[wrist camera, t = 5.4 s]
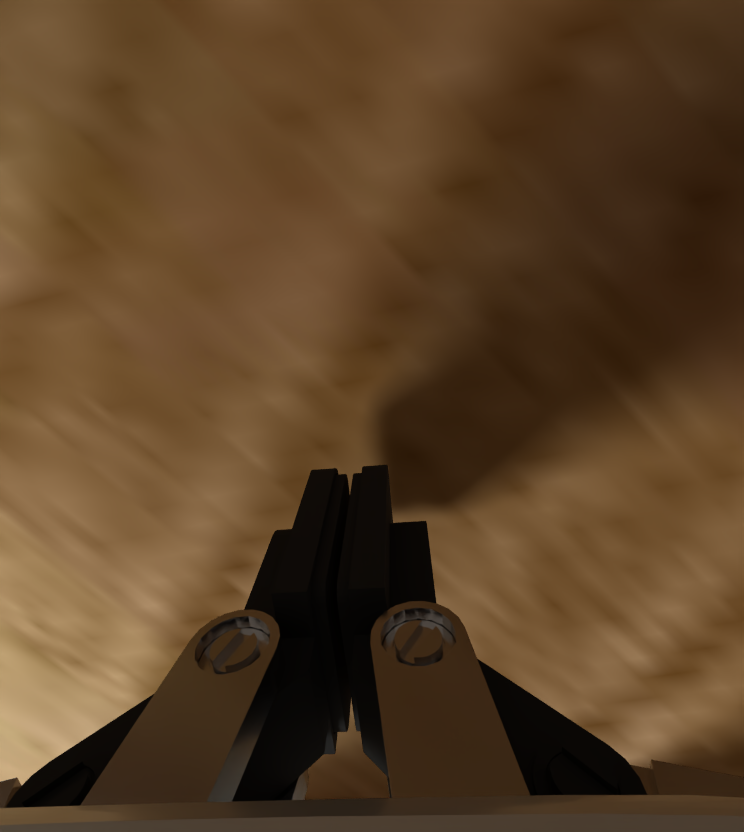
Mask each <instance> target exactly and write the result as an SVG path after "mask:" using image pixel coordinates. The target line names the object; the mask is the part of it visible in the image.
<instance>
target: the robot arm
mask: <svg viewBox="0 0 744 832" xmlns="http://www.w3.org/2000/svg"><path fill="white" fill-rule="evenodd" d="M351 699H352V706H353V712H354V719H355V726H356V730H357V731H361V737H362V744H363V751H364V753H365V754H366V755H367V756H368V757H369V758H370V759H371V760H372V761H373V762H374V763H375V764H376V765H377V766H378V767H379V768H380V769H381V770H382V771H383V772H384V773H385V774H386V776H387V781H388V789H389V797H390V798H366V799H323V800H304V799H305V796H306V792H307V787H308V780H309V774H308V768H309V767H310V766H311V765H312V764H313V763H315V762H316V761H317V760H318V759H319V758H320V757H321V756H322V755H323V754H335V751H336V742H337V732H347V731H348V726H349V716H350V704H351ZM0 832H744V777H739V776H734V775H728V774H723V773H718V772H713V771H707V770H702V769H697V768H692V767H686V766H681V765H676V764H671V763H666V762H660V761H655V760H651V765H650V769H649V768H644V767H639V766H633V765H630V764H629V763H628V762H627V760H626V759H625V758H623V757H622V756H621V755H620V754H619V753H617V752H616V751H615V750H614V749H613V748H611V747H610V746H609V745H607V744H606V743H604V742H603V741H601V740H600V739H598V738H597V737H595V736H594V735H592V734H591V733H589V732H588V731H586V730H585V729H583V728H582V727H580V726H579V725H577V724H576V723H574V722H573V721H571V720H569V719H568V718H566V717H565V716H563V715H562V714H560V713H559V712H557V711H556V710H554V709H553V708H551V707H550V706H548V705H547V704H545V703H544V702H542V701H541V700H539V699H538V698H536V697H535V696H533V695H532V694H530V693H529V692H527V691H525V690H524V689H522V688H521V687H519V686H518V685H516V684H515V683H513V682H512V681H510V680H509V679H507V678H506V677H504V676H503V675H501V674H500V673H498V672H497V671H495V670H494V669H492V668H491V667H489V666H488V665H486V664H484V663H483V662H481V661H480V660H478V659H477V657H476V655H475V652H474V649H473V647H472V644H471V642H470V639H469V637H468V634H467V631H466V629H465V627H464V625H463V623H462V622H461V620H460V619H459V617H458V616H457V615H455V614H454V613H453V612H452V611H451V610H449V609H448V608H446V607H443V606H441V605H439V604H437V603H436V597H435V589H434V580H433V572H432V564H431V555H430V547H429V539H428V531H427V523H426V521H418V522H402V523H393V518H392V507H391V496H390V485H389V475H388V466H387V465H378V466H364V467H363V468H362V473H356V474H353V479H352V486H351V493H350V494H349V486H348V478H347V475H346V474H341V475H338V471H337V468H334V469H320V470H312V471H311V473H310V476H309V479H308V482H307V485H306V488H305V491H304V494H303V497H302V500H301V503H300V506H299V509H298V512H297V515H296V518H295V522H294V525H293V528H292V529H287V530H277V531H275V532H274V534H273V536H272V539H271V541H270V544H269V546H268V549H267V552H266V554H265V557H264V560H263V562H262V565H261V567H260V570H259V573H258V575H257V578H256V580H255V583H254V586H253V588H252V591H251V593H250V596H249V599H248V601H247V604H246V607H245V609H244V610H238V611H234V612H230V613H227V614H224V615H222V616H220V617H218V618H216V619H214V620H211V621H210V622H209V623H207V624H206V625H205V626H203V627H202V628H201V629H200V630H199V631H198V632H197V633H196V634H195V635H194V636H193V638H192V639H191V640H190V641H189V643H188V644H187V646H186V647H185V649H184V650H183V652H182V653H181V655H180V656H179V658H178V659H177V661H176V662H175V664H174V665H173V667H172V668H171V670H170V671H169V673H168V674H167V676H166V677H165V679H164V680H163V682H162V683H161V685H160V686H159V688H158V689H157V691H156V692H155V694H153V695H152V696H150V697H149V698H147V699H146V700H144V701H142V702H141V703H139V704H138V705H136V706H135V707H133V708H132V709H130V710H129V711H127V712H126V713H124V714H122V715H121V716H119V717H118V718H116V719H115V720H113V721H112V722H110V723H109V724H107V725H106V726H104V727H102V728H101V729H99V730H98V731H96V732H95V733H93V734H92V735H90V736H89V737H87V738H86V739H84V740H83V741H81V742H79V743H78V744H76V745H75V746H73V747H72V748H70V749H69V750H67V751H66V752H64V753H63V754H61V755H59V756H58V757H56V758H55V759H53V760H52V761H50V762H49V763H48V764H46V765H45V766H44V767H42V768H41V769H40V770H38V771H37V772H36V773H35V774H33V775H32V776H31V777H30V778H29V779H28V780H27V781H26V782H25V783H24V784H23V785H22V786H21V784H20V782H19V780H18V778H13V779H9V780H5V781H1V782H0Z"/></svg>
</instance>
